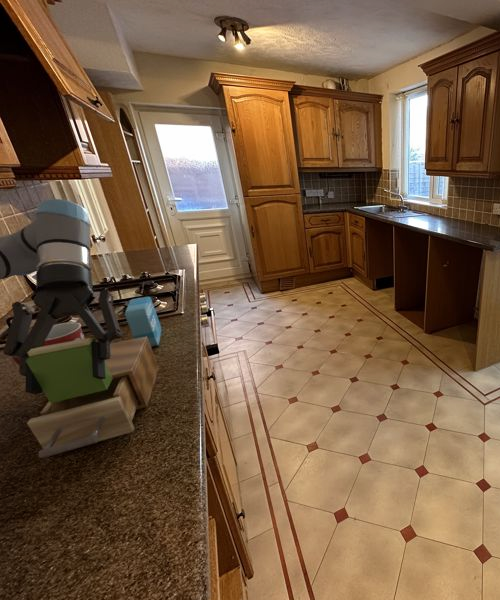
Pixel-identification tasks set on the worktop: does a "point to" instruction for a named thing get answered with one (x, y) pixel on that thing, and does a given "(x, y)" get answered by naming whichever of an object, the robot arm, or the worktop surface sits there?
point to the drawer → (86, 418)
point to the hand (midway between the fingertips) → (67, 384)
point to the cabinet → (135, 366)
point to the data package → (143, 320)
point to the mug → (62, 335)
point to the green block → (66, 370)
